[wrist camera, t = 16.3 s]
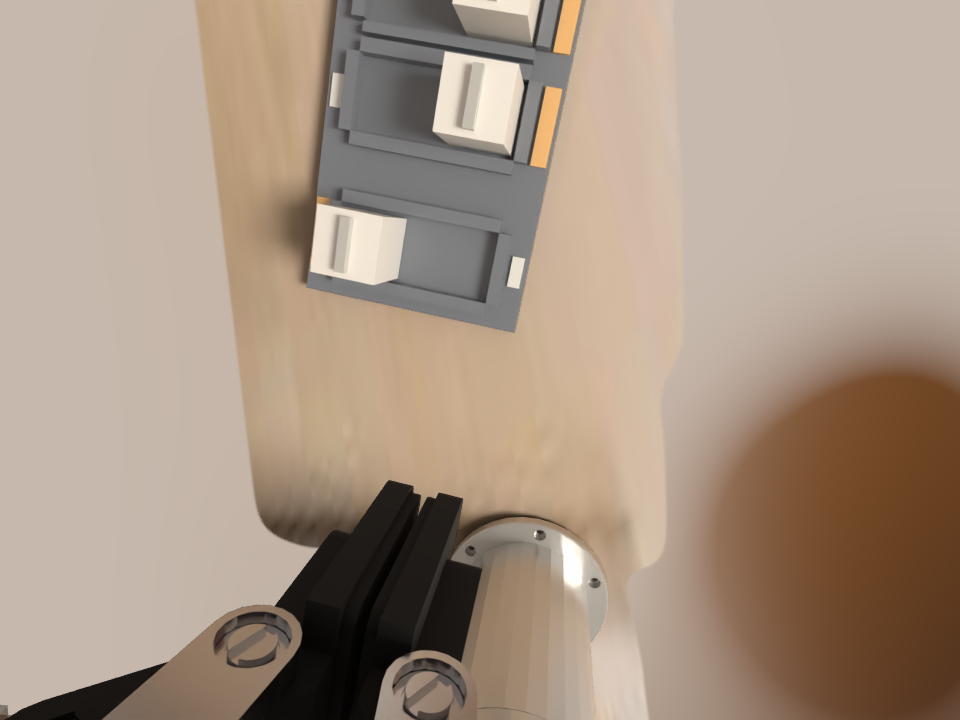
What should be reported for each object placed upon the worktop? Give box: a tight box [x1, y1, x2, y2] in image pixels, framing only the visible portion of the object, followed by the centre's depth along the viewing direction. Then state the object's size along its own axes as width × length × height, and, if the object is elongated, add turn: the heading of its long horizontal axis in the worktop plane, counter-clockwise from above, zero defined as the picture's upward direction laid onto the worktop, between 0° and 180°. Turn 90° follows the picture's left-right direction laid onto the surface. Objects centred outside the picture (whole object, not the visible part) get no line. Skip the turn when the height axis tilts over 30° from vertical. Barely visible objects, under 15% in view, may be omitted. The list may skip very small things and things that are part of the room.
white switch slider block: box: [310, 203, 407, 285], centre depth 34 cm, size 4×4×6 cm
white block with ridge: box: [432, 51, 525, 157], centre depth 31 cm, size 4×4×6 cm
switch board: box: [307, 0, 586, 333], centre depth 32 cm, size 22×15×7 cm
